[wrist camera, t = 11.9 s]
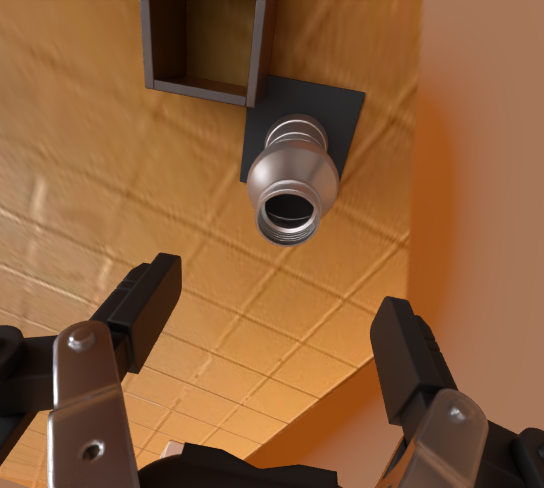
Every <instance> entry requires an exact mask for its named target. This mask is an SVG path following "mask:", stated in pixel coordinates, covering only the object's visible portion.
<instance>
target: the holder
mask: <svg viewBox="0 0 544 488" xmlns="http://www.w3.org/2000/svg"><path fill="white" fill-rule="evenodd" d="M277 7H278V0H256V7H255V17H254V27H253V37H252V47H251V58H250V68H249V78H248V87H244V86H239V85H234V84H228V83H223V82H218V81H212V80H207V79H201V78H196V77H191V76H186V0H140V12H141V27H142V43H143V58H144V74H145V87H146V88H148V89H153V90H154V89H155V90H158V91H164V92H169V93H174V94H180V95H185V96H190V97H196V98H201V99H206V100H212V101H217V102H223V103H228V104H233V105H239V106H244V107H245V106H246V107H250V108H255V107H256V106H257V105H258V104H260V103H261V102H262V101H263V100H264V99H265V95H266V87H267V80H268V75H269V68H270V61H271V53H272V45H273V38H274V30H275V23H276V15H277Z"/></svg>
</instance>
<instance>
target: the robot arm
mask: <svg viewBox="0 0 544 488" xmlns="http://www.w3.org/2000/svg"><path fill="white" fill-rule="evenodd" d="M181 288H182V268H181V257H180V256H177V255H172V254H167V253H159V254H158V255H157V256H156V258H155V259H154V260H153V262H152V263H151V264H148V263H142V264H141V265H139V266H137V267H135V268H134V269H132V270H131V271H130V272H129V273H128V274H127V276H126V277H125V278H124V279H123V281H122V282H121V283H120V284H119V285H118V286H117V289H115V290H114V291H113V292H112V293H111V295H110V296H109V297H108V298H107V299H106V300H105V302H104V303H103V304H102V305H101V306H100V307H99V309H98V310H97V311H96V312H95V313H94V315H93V316H92V317H91V318H90V319H89V320H88V321H82V322H79V323H76V324H73V325H71V326H69V327H67V328H66V329H65V330H63V331H62V332H61V333H60V334H59V335H55V336H44V337H31V338H24V337H23V335H22V333H21V331H20V330H19V329H18V328H16V327H14V326H8V325H1V326H0V466H1V464H2V463H3V462H4V460H5V459H6V457H7V456H8V454H9V453H10V452H11V450H12V449H13V447H14V446H15V445H16V443H17V442H18V440H19V439H20V437H21V436H22V435H23V433H24V432H25V430H26V429H27V427H28V426H29V425H30V423H31V422H32V420H33V419H34V417H35V416H36V415H37V413H38V412H39V411H44V410H51V409H53V411H51V412H50V413H49V416H48V487H47V488H342V487H341V486H339V485H338V482H337V472H336V471H330V470H325V469H320V468H315V467H310V466H305V465H291V466H283V467H274V468H266V469H259V468H256V467H254V466H252V465H250V464H249V463H247V462H245V461H243V460H241V459H239V458H237V457H235V456H234V455H232V454H230V453H228V452H226V451H224V450H222V449H217V448H212V447H207V446H202V445H197V444H192V443H186V442H185V444H184V447H183V450H182V453H181V454H176V455H171V456H167V457H164V458H161V459H159V460H156V461H154V462H152V463H150V464H148V465H146V466H145V467H143V468H142V469H140V470H139V471H138V468H137V463H136V458H135V453H134V448H133V443H132V438H131V433H130V428H129V423H128V418H127V412H126V407H125V402H124V397H123V392H122V387H121V382H122V380H123V379H124V377H125V375H126V374H127V372H130V373H135V374H139V372H140V370H141V368H142V367H143V365H144V363H145V361H146V359H147V357H148V356H149V354H150V352H151V350H152V348H153V346H154V345H155V343H156V341H157V339H158V337H159V335H160V333H161V332H162V330H163V328H164V326H165V324H166V322H167V321H168V319H169V317H170V315H171V313H172V311H173V310H174V308H175V306H176V304H177V302H178V300H179V297H180V294H181ZM370 340H371V345H372V349H373V354H374V358H375V363H376V367H377V372H378V376H379V381H380V385H381V389H382V394H383V399H384V403H385V408H386V412H387V417H388V420H389V424H393V425H398V426H402V429H403V433H404V435H403V436H402V437H401V439H400V441H399V443H398V445H397V447H396V449H395V450H394V453H393V454H392V456H391V458H390V460H389V462H388V464H387V466H386V468H385V470H384V472H383V473H382V476H381V477H380V479H379V481H378V483H377V485H376V487H375V488H544V431H542V430H540V429H537V428H526V429H525V430H523V431H522V432H521V433H520V434H516V433H514V432H512V431H509V430H508V429H505V428H503V427H501V426H499V425H497V424H495V423H493V422H491V421H489V420H487V419H486V416H485V415H484V413H483V411H482V410H481V409H480V407H479V406H478V405H477V404H476V403H475V402H474V401H473V400H472V399H470V398H469V397H468V396H466V395H465V394H463V393H461V392H459V390H458V389H457V386H456V384H455V383H454V380H453V377H452V375H451V373H450V371H449V368H448V366H447V365H446V362H445V360H444V357H443V355H442V353H441V352H440V349H439V346H438V344H437V342H435V338H434V336H433V333H432V331H431V329H430V327H429V326H428V325H427V324H426V323H425V321H424V320H423V319H422V318H421V317H420V316H417V315H414V313H413V310H412V308H411V305H410V303H409V301H408V300H405V299H400V298H395V297H389V296H386V297H385V298H384V300H383V302H382V304H381V306H380V308H379V310H378V312H377V314H376V316H375V318H374V320H373V322H372V325H371V329H370Z"/></svg>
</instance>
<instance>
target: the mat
mask: <svg viewBox="0 0 544 488" xmlns="http://www.w3.org/2000/svg"><path fill="white" fill-rule="evenodd" d="M364 96H365V93H364V92H359V91H353V90H348V89H342V88H337V87H332V86H326V85H321V84H316V83H310V82H305V81H300V80H294V79H289V78H283V77H278V76H273V75H268V80H267V87H266V95H265V99H264V100H263V101H262V102H261V103H260V104H258V105H257V106H256V107H255V108H250V107H247V116H246V126H245V136H244V145H243V155H242V165H241V175H240V182H245V183H247V178H248V173H249V170H250V168H251V166H252V164H253V162H254V161H255V160H256V158H257V157H258V156H259V154H260V153H261V152H263V151H264V150H265V139H266V135H267V133H268V131H269V129H270V128H271V126H272V125H273V124H274V123H275V122H276V121H277V120H279V119H280V118H282V117H284V116H286V115H289V114H295V113H299V114H306V115H309V116H311V117H313V118H315V119H316V120H317V121H319V122H320V124H321V125H322V126H323V128H324V130H325V131H326V134H327V138H328V149H327V154H328V155H329V156H330V157H331V159H332V161H333V163H334V164H335V166H336V168H337V172H338V175H339V182H340V178H341V175H342V171H343V168H344V164H345V161H346V158H347V154H348V151H349V147H350V144H351V140H352V137H353V134H354V130H355V127H356V123H357V120H358V117H359V113H360V110H361V106H362V103H363V99H364Z"/></svg>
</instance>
